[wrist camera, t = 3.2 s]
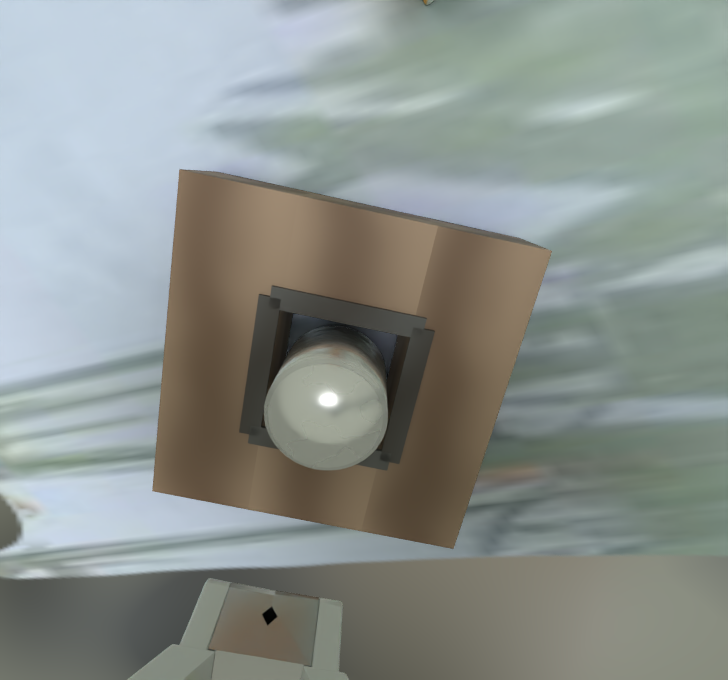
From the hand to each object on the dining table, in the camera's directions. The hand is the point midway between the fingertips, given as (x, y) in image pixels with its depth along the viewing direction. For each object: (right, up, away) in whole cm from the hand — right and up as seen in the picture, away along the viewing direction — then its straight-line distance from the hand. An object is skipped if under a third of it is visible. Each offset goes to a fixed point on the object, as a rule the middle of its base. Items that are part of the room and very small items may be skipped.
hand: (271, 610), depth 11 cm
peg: (+1, +4, +14) cm, 14 cm away
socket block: (+1, +6, +17) cm, 18 cm away
